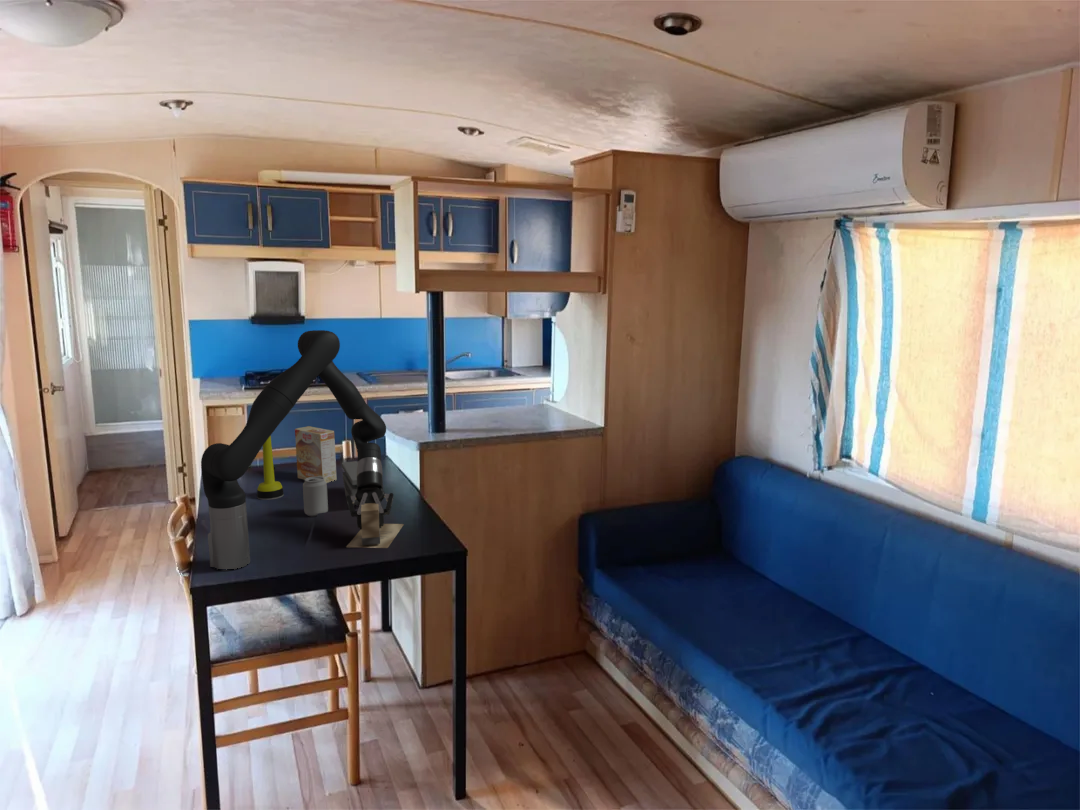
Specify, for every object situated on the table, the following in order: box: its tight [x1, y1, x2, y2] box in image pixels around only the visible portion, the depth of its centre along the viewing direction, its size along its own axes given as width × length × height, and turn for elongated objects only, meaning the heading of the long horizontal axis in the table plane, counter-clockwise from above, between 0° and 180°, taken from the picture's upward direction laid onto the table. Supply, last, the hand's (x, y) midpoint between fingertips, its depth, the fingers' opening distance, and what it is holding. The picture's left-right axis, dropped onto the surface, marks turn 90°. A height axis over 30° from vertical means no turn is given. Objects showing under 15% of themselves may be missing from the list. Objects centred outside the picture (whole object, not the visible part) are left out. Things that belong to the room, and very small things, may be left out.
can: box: [302, 476, 329, 517], centre depth 240 cm, size 8×8×12 cm
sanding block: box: [361, 503, 380, 545], centre depth 212 cm, size 5×9×10 cm, turn 12°
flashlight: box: [256, 435, 285, 501], centre depth 258 cm, size 25×9×9 cm
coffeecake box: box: [294, 425, 338, 484], centre depth 279 cm, size 15×7×20 cm, turn 55°
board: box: [345, 523, 405, 549], centre depth 218 cm, size 12×20×1 cm, turn 177°
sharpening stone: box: [341, 460, 360, 507], centre depth 254 cm, size 25×8×11 cm, turn 23°
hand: (370, 527), depth 210 cm, fingers closed on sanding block, 4 cm apart
